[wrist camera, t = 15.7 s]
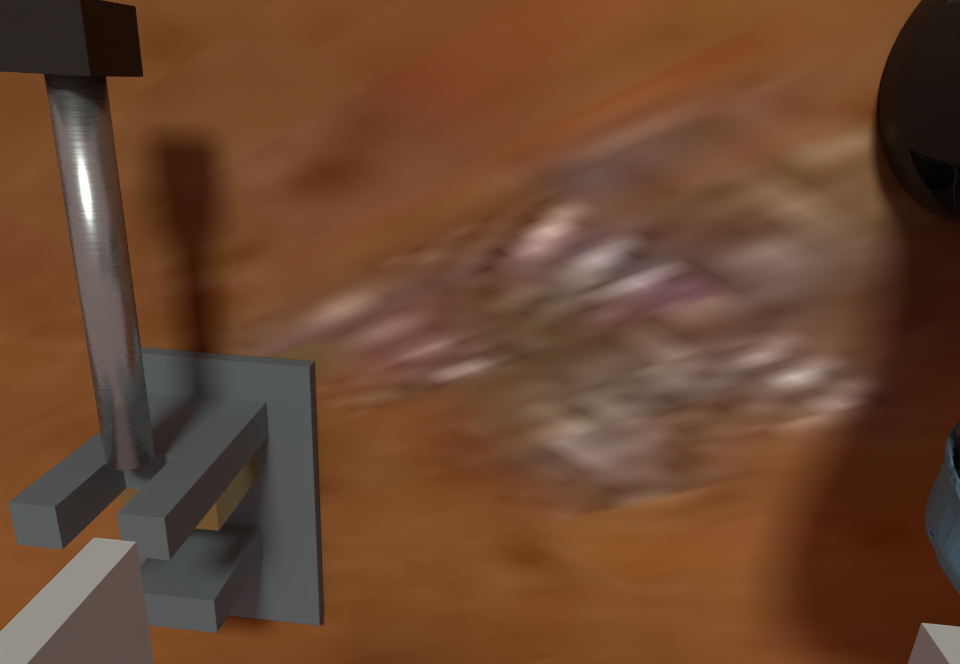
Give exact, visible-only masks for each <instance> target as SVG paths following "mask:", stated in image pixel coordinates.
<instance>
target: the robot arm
mask: <svg viewBox="0 0 960 664" xmlns="http://www.w3.org/2000/svg"><path fill="white" fill-rule="evenodd" d="M879 128H880V135H881V140H882V145H883V148H884V152H885V155H886V157H887V160H888V163H889V165H890V167H891V169H892V171H893V172H894V174H895V176H896V177H897V179H898V181H899V182H900V183H901V185H902V186H903V187H904V188H905V190H906V191H907V192H908V193H909V194H910V195H911V196H912V197H913V198H914V199H915V200H916V201H917V202H919V203H920V204H921V205H922V206H924V207H925V208H927V209H928V210H930V211H931V212H933V213H935V214H937V215H938V216H940V217H942V218H945V219H947V220H949V221H952V222H955V223H958V224H960V0H922V1H921V2H920V3H919V5H918V6H917V7H916V9H915V10H914V11H913V13H912V14H911V16H910V17H909V19H908V20H907V22H906V24H905V25H904V27H903V29H902V30H901V32H900V34H899V36H898V38H897V40H896V42H895V44H894V47H893V49H892V51H891V54H890V56H889V59H888V62H887V65H886V68H885V72H884V75H883V79H882V84H881V90H880V98H879ZM925 526H926V532H927V534H928V537H929V540H930V542H931V544H932V546H933V548H934V549H935V553H936V559H937V561H938V563H939V565H940V567H941V569H942V570H943V572H944V573H945V575H946V576H947V578H948V579H949V581H950V582H951V584H952V585H953V587H954V588H955V589H956V590H957V592H958V593H959V594H960V421H959V422H957V423H956V425H955V426H954V427H953V429H952V431H951V432H950V434H949V436H948V437H947V440H946V444H945V455H944V460H943V463H942V466H941V468H940V471H939V473H938V475H937V478H936V480H935V482H934V485H933V487H932V489H931V492H930V494H929V497H928V500H927V503H926V509H925ZM0 664H154V660H153V653H152V646H151V639H150V632H149V626H148V619H147V612H146V605H145V599H144V592H143V585H142V578H141V571H140V565H139V558H138V551H137V544H136V542H132V541H122V540H113V539H103V538H93V539H92V540H91V541H90V542H89V543H88V544H87V545H86V546H85V547H84V548H83V549H82V550H81V551H80V552H79V553H78V554H77V555H76V556H75V557H74V558H73V559H72V560H71V561H70V562H69V563H68V564H67V565H66V566H65V567H64V568H63V569H62V570H61V571H60V572H59V573H58V574H57V575H56V576H55V577H54V578H53V579H52V580H51V581H50V582H49V583H48V584H47V585H46V586H45V587H44V588H43V589H42V590H41V591H40V592H39V593H38V594H37V595H36V596H35V597H34V598H33V599H32V600H31V601H30V602H29V603H28V604H27V605H26V606H25V607H24V608H23V609H22V610H21V611H20V612H19V613H18V614H17V615H16V616H15V617H14V618H13V619H12V620H11V621H10V622H9V623H8V624H7V625H6V626H5V627H4V628H3V629H2V630H1V631H0ZM908 664H960V627H958V626H948V625H939V624H929V623H921V625H920V628H919V631H918V634H917V637H916V640H915V643H914V646H913V649H912V652H911V655H910V658H909V661H908Z"/></svg>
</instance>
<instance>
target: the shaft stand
mask: <svg viewBox="0 0 960 664" xmlns="http://www.w3.org/2000/svg"><path fill="white" fill-rule="evenodd" d="M141 351H142V359H143V367H144V375H145V382H146V390H147V398H148V406H149V413H150V421H151V429H152V436H153V444H154V452H155V456H154V458H153V460H152V461H150V462H149V463H148V464H146V465H144V466H141V467H138V468H135V469H130V470H114V469H111V468H109V467H107V466H106V463H105V457H104V451H103V444H102V438H101V432H100V431H99V432H98V433H97V434H96V435H94V436H93V437H92V438H90V439H89V440H88V441H87V442H85V443H84V444H83V445H81V446H80V447H79V448H78V449H76V450H75V451H74V452H72V453H71V454H70V455H69V456H67V457H66V458H65V459H63V460H62V461H61V462H60V463H58V464H57V465H56V466H55V467H53V468H52V469H51V470H49V471H48V472H47V473H46V474H44V475H43V476H42V477H40V478H39V479H38V480H37V481H35V482H34V483H33V484H31V485H30V486H29V487H28V488H26V489H25V490H24V491H22V492H21V493H20V494H19V495H17V496H16V497H15V498H13V499H12V500H11V501H10V502H9V507H10V511H11V516H12V521H13V525H14V530H15V534H16V539H17V544H18V545H27V546H37V547H46V548H56V549H64V548H65V547H66V546H67V545H68V544H69V543H70V542H71V541H72V540H73V539H74V538H75V537H76V536H77V535H78V534H79V533H80V532H81V531H82V530H83V529H84V528H85V527H86V526H87V525H88V524H90V523H91V522H92V521H93V520H94V519H95V518H96V517H97V516H98V515H99V514H100V513H101V512H102V511H103V510H104V509H105V508H106V507H107V506H108V505H109V504H110V503H111V502H112V501H113V500H114V499H115V498H117V497H118V496H119V495H120V494H121V493H122V492H123V491H124V490H125V489H126V488H130V489H140V491H139V492H138V493H137V494H136V495H135V496H134V497H133V498H132V499H131V500H130V501H129V502H128V503H127V504H126V505H125V506H124V507H123V508H122V509H121V510H120V511H119V512H118V513H117V516H118V523H119V529H120V535H121V540H122V541H132V542H136V544H137V551H138V558H139V565H140V571H141V578H142V585H143V592H144V599H145V605H146V612H147V619H148V625H152V626H160V627H169V628H178V629H187V630H196V631H205V632H214V633H218V631H219V629H220V628H221V626H222V624H223V623H224V621H225V619H226V618H227V616H237V617H246V618H255V619H264V620H273V621H282V622H291V623H301V624H310V625H319V626H320V624H321V621H322V619H323V617H324V608H323V582H322V555H321V528H320V501H319V475H318V448H317V421H316V394H315V368H314V361H303V360H291V359H278V358H266V357H254V356H242V355H230V354H217V353H205V352H193V351H181V350H169V349H156V348H144V347H141ZM255 452H256V466H257V479H256V481H255V482H254V483H253V485H252V486H251V488H250V489H249V490H248V492H247V493H246V494H245V496H244V497H243V498H242V500H241V501H240V503H239V504H238V505H237V507H236V508H235V509H234V511H233V512H232V513H231V515H230V516H229V517H228V519H227V520H226V522H225V523H224V524H223V526H222V527H221V528H220V530H219V531H215V530H205V529H195V528H196V527H197V525H198V524H199V523H200V522H201V520H202V519H203V518H204V517H205V515H206V514H207V513H208V512H209V510H210V509H211V508H212V506H213V505H214V504H215V503H216V501H217V500H218V499H219V498H220V496H221V495H222V494H223V493H224V491H225V490H226V489H227V488H228V486H229V485H230V484H231V482H232V481H233V480H234V479H235V477H236V476H237V475H238V474H239V472H240V471H241V470H242V469H243V467H244V466H245V465H246V464H247V462H248V461H249V460H250V458H251V457H252V456H253V455H254V453H255Z"/></svg>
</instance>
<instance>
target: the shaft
mask: <svg viewBox="0 0 960 664" xmlns="http://www.w3.org/2000/svg"><path fill="white" fill-rule="evenodd" d="M0 71H1V72H20V73H39V74H44V78H45V84H46V90H47V97H48V103H49V109H50V116H51V122H52V128H53V135H54V141H55V147H56V154H57V160H58V166H59V173H60V179H61V185H62V191H63V198H64V204H65V210H66V217H67V223H68V229H69V236H70V242H71V248H72V255H73V261H74V267H75V274H76V280H77V286H78V293H79V299H80V305H81V312H82V318H83V324H84V331H85V337H86V343H87V350H88V356H89V362H90V369H91V375H92V381H93V388H94V394H95V400H96V406H97V413H98V419H99V425H100V432H101V438H102V444H103V451H104V457H105V463H106V466H107V467H109V468H111V469H114V470H130V469H135V468H138V467H141V466H144V465H146V464H148V463H149V462H150V461H152V460H153V458H154V456H155V452H154V444H153V436H152V429H151V421H150V413H149V406H148V398H147V390H146V382H145V375H144V367H143V359H142V351H141V344H140V336H139V328H138V321H137V313H136V305H135V297H134V290H133V282H132V274H131V266H130V259H129V251H128V243H127V236H126V228H125V220H124V212H123V205H122V197H121V189H120V182H119V174H118V166H117V158H116V151H115V143H114V135H113V127H112V120H111V112H110V104H109V97H108V89H107V81H106V76H121V77H143V70H142V61H141V53H140V44H139V35H138V26H137V17H136V8H135V6H130V5H125V4H119V3H114V2H108V1H102V0H0Z"/></svg>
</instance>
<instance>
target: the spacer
mask: <svg viewBox="0 0 960 664" xmlns="http://www.w3.org/2000/svg"><path fill="white" fill-rule="evenodd" d="M256 479H257V466H256V452H255V453H254V455H253V456H252V457H251V458H250V460H249V461H248V462H247V464H246V465H245V466H244V467H243V469H242V470H241V471H240V472H239V474H238V475H237V476H236V477H235V479H234V480H233V481H232V482H231V484H230V485H229V486H228V488H227V489H226V490H225V491H224V493H223V494H222V495H221V496H220V498H219V499H218V500H217V501H216V503H215V504H214V505H213V506H212V508H211V509H210V510H209V512H208V513H207V514H206V515H205V517H204V518H203V519H202V520H201V522H200V523H199V524H198V525H197V527H196V528H195V529H205V530H215V531H219V530H220V528H221V527H222V526H223V524H224V523H225V522H226V520H227V519H228V517H229V516H230V515H231V513H232V512H233V511H234V509H235V508H236V507H237V505H238V504H239V503H240V501H241V500H242V498H243V497H244V496H245V494H246V493H247V492H248V490H249V489H250V488H251V486H252V485H253V483H254V482H255V481H256ZM139 491H140V489H130V488H126V489H125V490H124V491H123V492H122V493H121V494H120V495H121V501H122V508H123V507H124V506H125V505H126V504H127V503H128V502H129V501H130V500H131V499H132V498H133V497H134V496H135V495H136V494H137V493H138V492H139Z"/></svg>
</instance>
